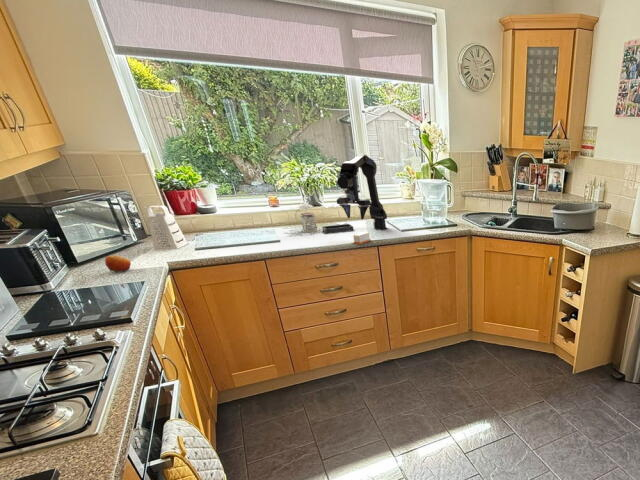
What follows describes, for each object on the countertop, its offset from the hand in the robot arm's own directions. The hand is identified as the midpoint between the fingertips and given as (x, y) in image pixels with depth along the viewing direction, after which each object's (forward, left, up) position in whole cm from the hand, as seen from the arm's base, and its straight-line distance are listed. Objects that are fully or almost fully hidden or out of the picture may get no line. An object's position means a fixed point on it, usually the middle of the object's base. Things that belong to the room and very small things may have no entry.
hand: (355, 218), depth 225 cm
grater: (+86, -38, -13) cm, 95 cm away
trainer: (-1, +1, -13) cm, 13 cm away
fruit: (+103, 0, -13) cm, 104 cm away
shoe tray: (+3, -33, -13) cm, 35 cm away
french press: (+18, -42, -13) cm, 47 cm away
